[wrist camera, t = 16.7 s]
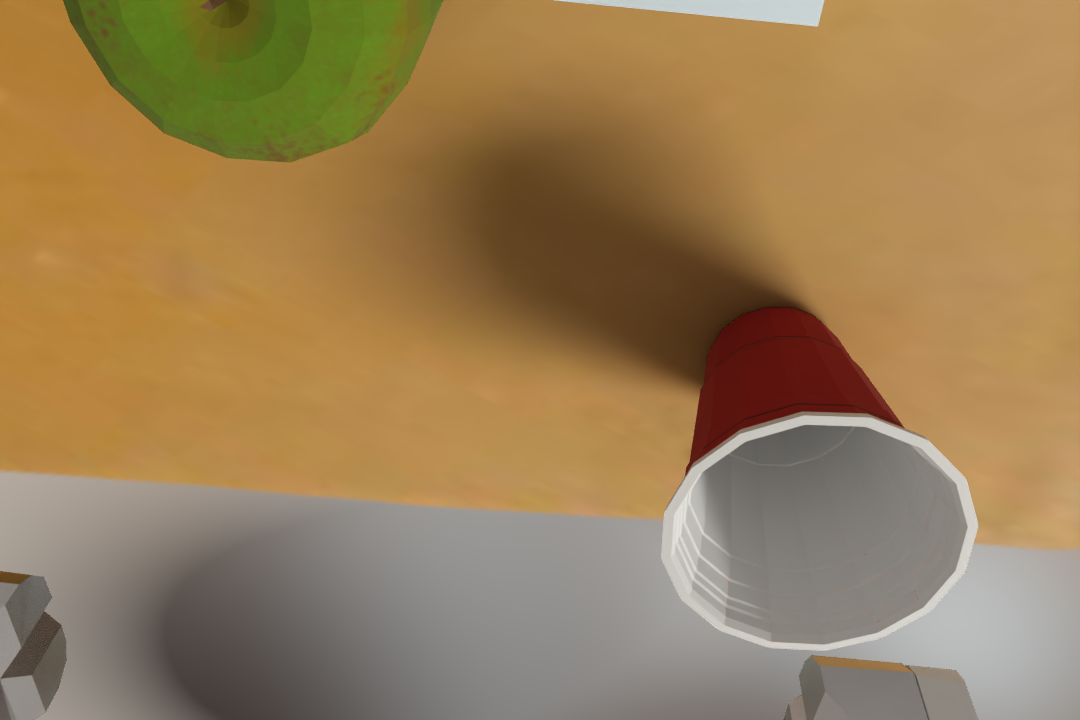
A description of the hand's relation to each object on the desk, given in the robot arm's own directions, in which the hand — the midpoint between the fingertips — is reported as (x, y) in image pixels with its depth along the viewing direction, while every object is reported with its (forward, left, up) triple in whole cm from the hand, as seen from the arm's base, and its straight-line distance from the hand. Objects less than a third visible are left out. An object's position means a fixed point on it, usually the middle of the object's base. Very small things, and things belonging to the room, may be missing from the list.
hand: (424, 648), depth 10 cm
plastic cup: (+11, -15, -29) cm, 35 cm away
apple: (-9, +1, -29) cm, 31 cm away
